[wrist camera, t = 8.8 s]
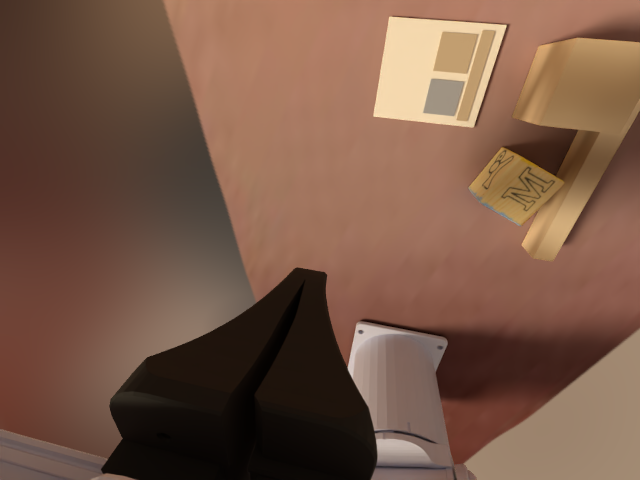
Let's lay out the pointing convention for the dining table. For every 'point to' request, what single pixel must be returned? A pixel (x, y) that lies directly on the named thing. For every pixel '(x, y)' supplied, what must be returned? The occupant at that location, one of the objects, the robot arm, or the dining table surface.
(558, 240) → the backstop
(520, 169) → the alphabet block
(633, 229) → the dining table surface
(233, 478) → the robot arm
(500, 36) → the card
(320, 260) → the dining table surface
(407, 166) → the dining table surface
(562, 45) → the maple cube
